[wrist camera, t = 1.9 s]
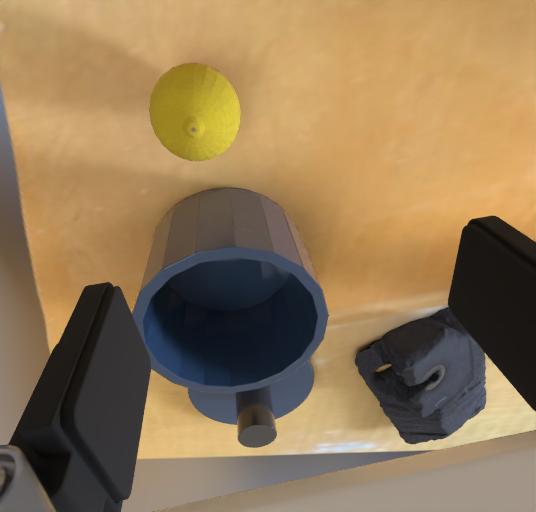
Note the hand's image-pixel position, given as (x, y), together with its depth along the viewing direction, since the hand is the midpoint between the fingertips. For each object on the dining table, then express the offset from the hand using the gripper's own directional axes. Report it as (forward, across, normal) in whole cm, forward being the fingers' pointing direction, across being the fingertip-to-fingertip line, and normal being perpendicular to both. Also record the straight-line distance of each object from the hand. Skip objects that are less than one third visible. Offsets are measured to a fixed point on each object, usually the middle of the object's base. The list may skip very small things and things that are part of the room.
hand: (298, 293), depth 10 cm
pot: (+21, +3, +12) cm, 24 cm away
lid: (+20, +3, +29) cm, 36 cm away
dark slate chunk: (+21, -19, +34) cm, 44 cm away
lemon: (+21, +3, -2) cm, 21 cm away
